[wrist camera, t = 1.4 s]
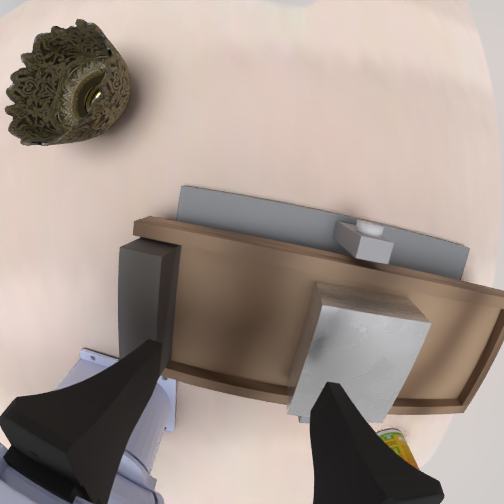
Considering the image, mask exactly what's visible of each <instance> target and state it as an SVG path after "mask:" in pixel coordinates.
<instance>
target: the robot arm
mask: <svg viewBox="0 0 504 504" xmlns="http://www.w3.org/2000/svg"><path fill="white" fill-rule="evenodd" d="M161 350H162V343H160V342H157V341H154V340H151V339H148V340H146V341H145V342H143V343H142V344H141V345H140V346H138V347H137V348H136V349H134V350H133V351H132V352H130V353H129V354H128V355H126V356H125V357H123V358H122V359H120V360H119V359H116V358H112V357H109V356H106V355H102V354H99V353H96V352H93V351H90V350H87V349H82V350H81V351H80V358H81V359H80V360H79V361H78V362H77V364H76V365H75V366H74V367H73V369H72V370H71V371H70V372H69V374H68V375H67V376H66V377H65V378H64V380H63V381H62V382H61V383H60V385H59V386H58V387H57V389H56V390H55V391H51V392H47V393H42V394H37V395H29V396H22V397H16V398H15V399H14V400H13V401H12V402H11V404H10V405H9V406H8V407H7V409H6V410H5V411H4V412H3V414H2V415H1V416H0V426H1V428H2V430H3V432H4V433H5V435H6V437H7V438H8V440H9V442H10V443H11V447H10V448H9V450H8V449H7V448H6V447H5V446H4V445H3V444H1V443H0V504H164V500H163V497H162V496H161V495H160V494H159V493H158V492H156V491H154V489H155V485H156V482H157V480H156V479H155V478H153V477H152V476H151V475H150V473H151V470H152V466H153V463H154V460H155V457H156V453H157V450H158V447H159V444H160V440H161V437H162V434H163V431H169V432H172V431H174V428H175V405H176V385H177V380H174V379H170V378H165V377H164V376H160V377H159V372H160V361H161ZM93 356H94V357H95V358H94V357H93ZM158 378H159V379H158ZM310 438H311V448H312V456H313V466H314V500H313V504H440V503H441V502H442V500H443V499H444V493H443V490H442V487H441V484H440V482H439V481H438V480H436V479H434V478H432V477H430V476H429V475H427V474H425V473H423V472H421V471H420V470H418V469H417V468H415V467H414V466H412V465H411V464H409V463H408V462H407V461H405V460H404V459H403V458H401V457H400V456H399V455H398V454H397V453H395V452H394V451H393V450H392V449H391V448H390V447H389V446H388V445H387V444H386V443H385V442H384V441H383V440H382V439H381V438H380V437H379V436H378V435H377V434H376V432H375V431H374V430H373V429H372V428H371V426H370V425H369V424H368V423H367V421H366V420H365V419H364V417H363V416H362V415H361V413H360V412H359V411H358V409H357V408H356V406H355V405H354V403H353V402H352V401H351V399H350V398H349V396H348V395H347V393H346V392H345V390H344V389H343V387H342V386H341V385H340V383H334V382H326V384H325V386H324V388H323V390H322V391H321V393H320V395H319V397H318V399H317V400H316V402H315V404H314V406H313V407H312V409H311V411H310Z"/></svg>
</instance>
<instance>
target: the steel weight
mask: <svg viewBox="0 0 504 504" xmlns="http://www.w3.org/2000/svg"><path fill="white" fill-rule="evenodd" d="M431 324H432V323H431V322H430V321H429V320H428V319H427V317H426V316H425V315H424V314H423V313H422V312H421V311H420V310H419V309H418V308H417V306H416V305H415V304H414V303H413V302H412V301H411V300H410V299H409V298H406V297H401V296H396V295H390V294H385V293H380V292H375V291H369V290H364V289H359V288H354V287H348V286H343V285H338V284H333V283H328V282H323V281H318V280H316V281H315V285H314V289H313V293H312V297H311V300H310V304H309V308H308V311H307V315H306V318H305V322H304V326H303V329H302V332H301V336H300V339H299V343H298V346H297V349H296V353H295V356H294V359H293V363H292V366H291V369H290V372H289V375H288V381H287V414H289V415H296V416H304V417H310V411H311V409H312V407H313V406H314V404H315V402H316V400H317V399H318V397H319V395H320V393H321V391H322V390H323V388H324V386H325V384H326V382H334V383H340V385H341V386H342V387H343V389H344V390H345V392H346V393H347V395H348V396H349V398H350V399H351V401H352V402H353V403H354V405H355V406H356V408H357V409H358V411H359V412H360V413H361V415H362V416H363V417H364V419H365V420H366V421H367V422H377V423H382V422H383V420H384V419H385V417H386V415H387V413H388V412H389V410H390V408H391V407H392V405H393V403H394V401H395V399H396V398H397V396H398V394H399V392H400V390H401V388H402V386H403V385H404V383H405V381H406V379H407V377H408V375H409V373H410V371H411V369H412V367H413V365H414V362H415V360H416V358H417V356H418V354H419V352H420V349H421V347H422V345H423V343H424V340H425V338H426V336H427V333H428V331H429V328H430V326H431Z"/></svg>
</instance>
